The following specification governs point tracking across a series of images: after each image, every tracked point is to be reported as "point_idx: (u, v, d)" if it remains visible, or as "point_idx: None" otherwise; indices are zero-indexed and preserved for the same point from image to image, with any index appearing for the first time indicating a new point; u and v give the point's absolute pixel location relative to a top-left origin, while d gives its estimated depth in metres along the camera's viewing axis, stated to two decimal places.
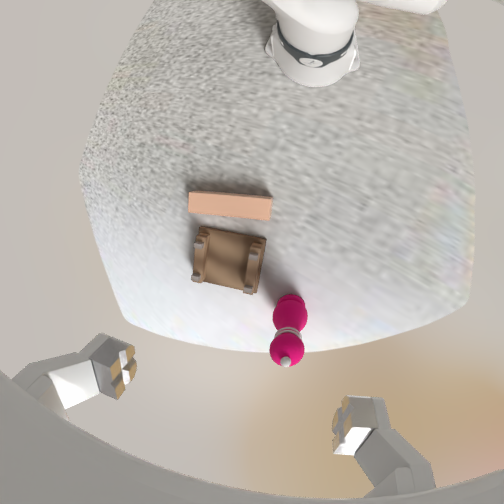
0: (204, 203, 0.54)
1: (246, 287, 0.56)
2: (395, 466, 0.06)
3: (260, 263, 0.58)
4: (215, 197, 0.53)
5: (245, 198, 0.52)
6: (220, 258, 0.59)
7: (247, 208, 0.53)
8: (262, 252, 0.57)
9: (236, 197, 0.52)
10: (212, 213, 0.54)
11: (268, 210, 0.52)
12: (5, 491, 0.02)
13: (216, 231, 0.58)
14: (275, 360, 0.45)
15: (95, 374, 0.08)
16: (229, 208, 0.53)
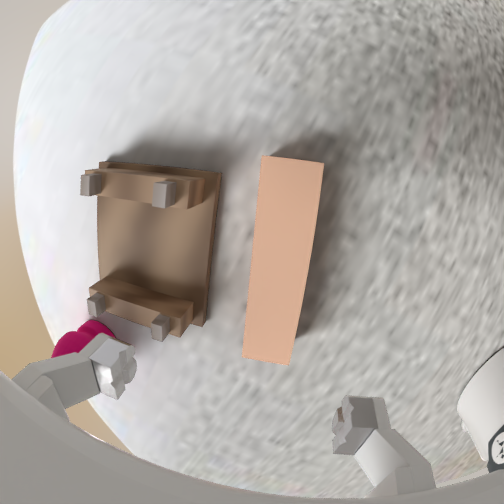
0: (286, 209, 0.18)
1: (97, 305, 0.22)
2: (395, 466, 0.06)
3: None
4: (302, 243, 0.19)
5: (295, 318, 0.21)
6: (148, 225, 0.24)
7: (268, 319, 0.21)
8: None
9: (299, 298, 0.20)
10: (258, 232, 0.19)
11: (264, 358, 0.22)
12: (5, 491, 0.02)
13: (209, 219, 0.22)
14: None
15: (95, 374, 0.08)
16: (271, 278, 0.20)
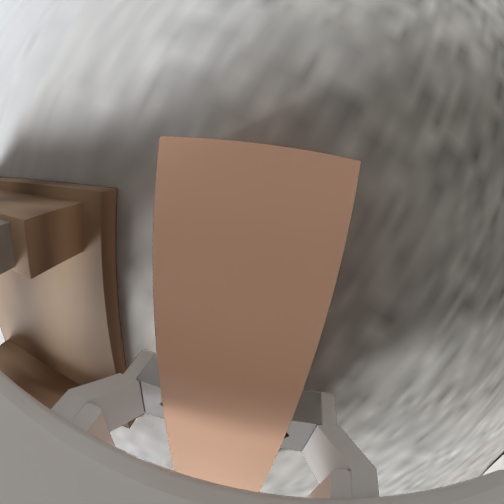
0: (235, 302, 0.06)
1: None
2: (337, 467, 0.06)
3: None
4: (279, 382, 0.07)
5: (259, 474, 0.08)
6: (28, 281, 0.11)
7: (212, 469, 0.09)
8: None
9: (267, 456, 0.08)
10: (165, 346, 0.07)
11: None
12: (5, 491, 0.02)
13: (100, 283, 0.10)
14: None
15: (142, 395, 0.08)
16: (207, 427, 0.08)
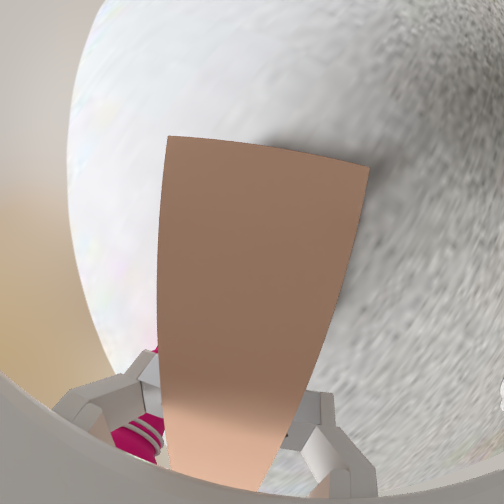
0: (239, 306, 0.06)
1: None
2: (336, 467, 0.06)
3: None
4: (280, 385, 0.07)
5: (257, 475, 0.08)
6: None
7: (209, 469, 0.09)
8: None
9: (266, 458, 0.08)
10: (167, 347, 0.07)
11: None
12: (5, 491, 0.02)
13: None
14: None
15: (143, 395, 0.08)
16: (206, 428, 0.08)
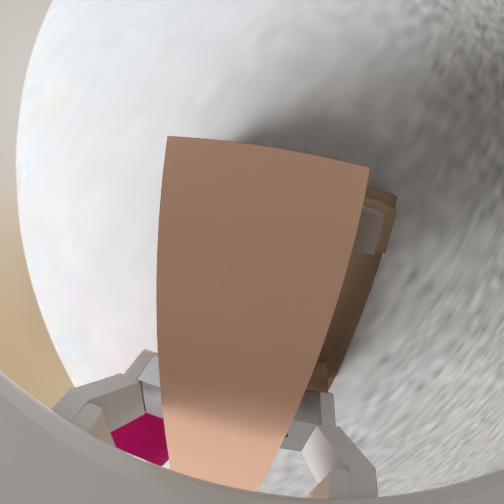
0: (239, 306, 0.06)
1: None
2: (336, 467, 0.06)
3: None
4: (280, 385, 0.07)
5: (257, 476, 0.08)
6: None
7: (209, 470, 0.09)
8: None
9: (266, 459, 0.08)
10: (167, 348, 0.07)
11: None
12: (5, 491, 0.02)
13: (376, 259, 0.15)
14: None
15: (143, 395, 0.08)
16: (206, 429, 0.08)
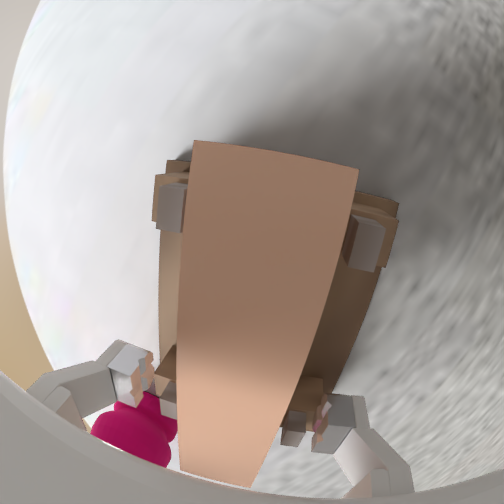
0: (251, 282, 0.07)
1: None
2: (373, 467, 0.06)
3: None
4: (284, 355, 0.08)
5: (260, 451, 0.10)
6: None
7: (215, 446, 0.10)
8: None
9: (269, 431, 0.09)
10: (185, 322, 0.08)
11: (213, 477, 0.11)
12: (5, 491, 0.02)
13: (376, 271, 0.14)
14: None
15: (113, 382, 0.08)
16: (216, 401, 0.09)
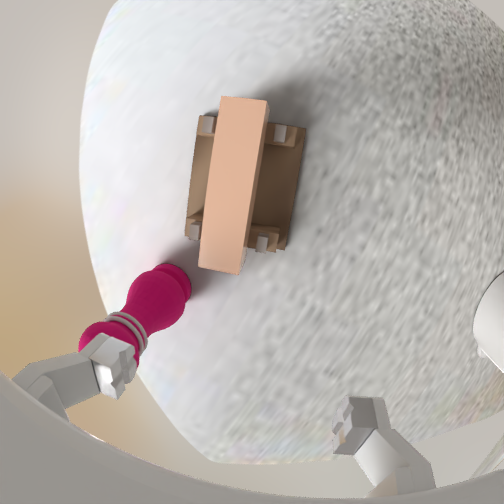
0: (237, 134, 0.23)
1: (199, 229, 0.29)
2: (395, 466, 0.06)
3: None
4: (249, 160, 0.23)
5: (242, 225, 0.25)
6: None
7: (221, 226, 0.25)
8: None
9: (246, 206, 0.25)
10: (215, 151, 0.23)
11: (217, 267, 0.27)
12: (5, 491, 0.02)
13: (298, 161, 0.29)
14: None
15: (95, 374, 0.08)
16: (223, 189, 0.24)
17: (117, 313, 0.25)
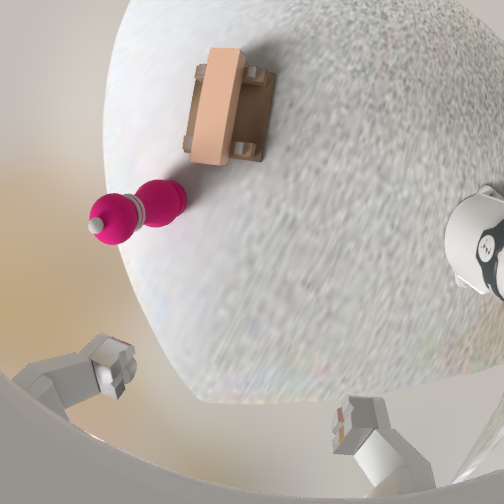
0: (220, 70, 0.30)
1: None
2: (395, 466, 0.06)
3: None
4: (227, 85, 0.30)
5: (222, 128, 0.32)
6: None
7: (207, 130, 0.33)
8: (242, 157, 0.40)
9: (225, 115, 0.32)
10: (205, 81, 0.31)
11: (203, 161, 0.34)
12: (5, 491, 0.02)
13: (269, 95, 0.36)
14: (95, 207, 0.28)
15: (95, 374, 0.08)
16: (210, 105, 0.32)
17: (124, 194, 0.32)
